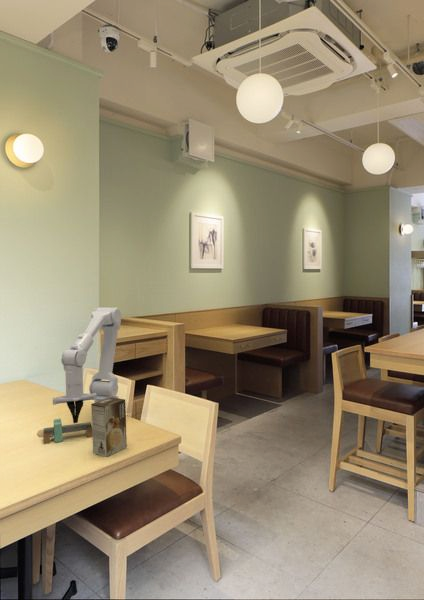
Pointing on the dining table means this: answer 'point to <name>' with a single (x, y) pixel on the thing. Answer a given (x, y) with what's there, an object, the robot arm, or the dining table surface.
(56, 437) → the green rectangular loop
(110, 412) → the coffee box
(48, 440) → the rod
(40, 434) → the coaster
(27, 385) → the dining table surface
